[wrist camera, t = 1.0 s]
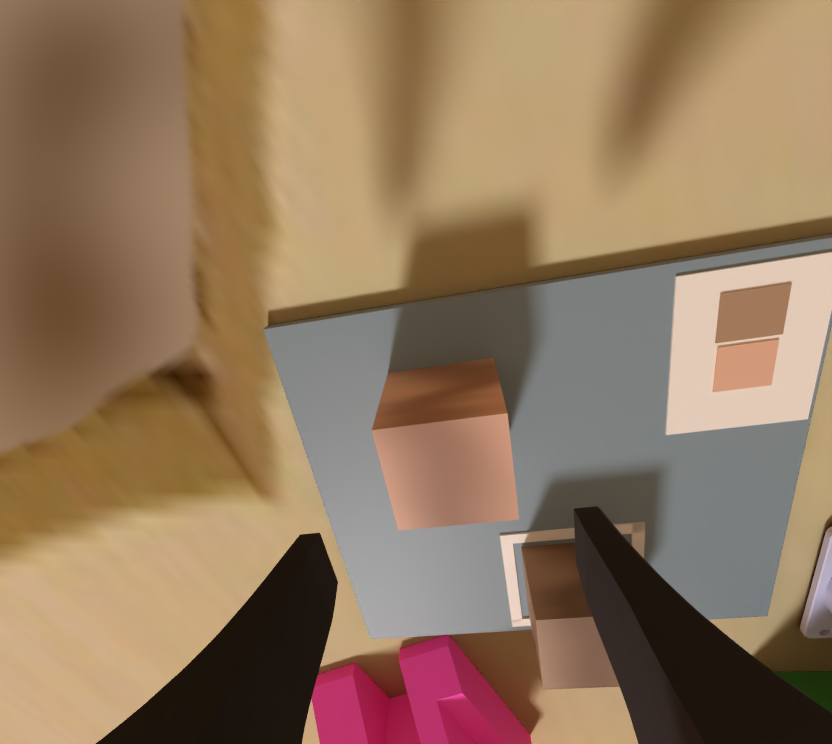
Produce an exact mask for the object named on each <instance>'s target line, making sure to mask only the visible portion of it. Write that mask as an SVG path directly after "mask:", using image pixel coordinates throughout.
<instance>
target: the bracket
mask: <svg viewBox="0 0 832 744" xmlns="http://www.w3.org/2000/svg"><path fill="white" fill-rule="evenodd" d="M399 663H400V667H401V671H402V675H403V679H404V682H405V686H406V690H407V694H404V695H401V696H397V697H394V698H389V697H388V696H387V695H386V694H385V693H384V692H383V691H382V690H381V689H380V688H379V687H378V686H377V685H376V684H375V683H374V682H373V681H372V680H371V679H370V678H369V677H368V676H367V675H366V674H365V673H364V672H363V671H362V670H361V669H360V668H359V667H358V665H357V664H356V663H353V664H350V665H347V666H344V667H340V668H337V669H334V670H331V671H328V672H325V673H321V674H318V676H317V679H316V683H315V687H314V690H313V694H312V703H313V708H314V714H315V719H316V724H317V730H318V735H319V740H320V744H531V737H530V734H529V733H528V732H527V730H526V729H525V728H524V727H523V726H522V724H521V723H520V722H519V721H518V719H517V718H516V717H515V716H514V714H513V713H512V712H511V711H510V709H509V708H508V707H507V706H506V705H505V703H504V702H503V701H502V700H501V698H500V697H499V696H498V695H497V693H496V692H495V691H494V690H493V689H492V687H491V686H490V685H489V684H488V682H487V681H486V680H485V679H484V677H483V676H482V675H481V674H480V673H479V671H478V670H477V669H476V668H475V666H474V665H473V664H472V663H471V661H470V660H469V659H468V658H467V657H466V655H465V654H464V653H463V652H462V650H461V649H460V648H459V647H458V645H457V644H456V643H455V642H454V640H453V639H452V638H451V637H450V636H449V635H442V636H439V637H436V638H433V639H430V640H427V641H423V642H420V643H417V644H414V645H411V646H407V647H404V648H401V649H400V654H399Z"/></svg>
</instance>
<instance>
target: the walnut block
mask: <svg viewBox="0 0 832 744" xmlns="http://www.w3.org/2000/svg"><path fill="white" fill-rule="evenodd" d="M521 550H522V559H523V567H524V576H525V585H526V594H527V603H528V612H529V617H530V623H531V628H532V634H533V639H534V644H535V650H536V655H537V660H538V666H539V671H540V677H541V682H542V687H543V690H546V689H571V688H595V687H620V686H619V683H618V681H617V678H616V676H615V673H614V671H613V668H612V665H611V663H610V660H609V658H608V655H607V653H606V650H605V648H604V645H603V643H602V640H601V637H600V635H599V632H598V630H597V627H596V625H595V622H594V619H593V617H592V614H591V612H590V609H589V606H588V604H587V601H586V598H585V594H584V591H583V587H582V583H581V580H580V576H579V572H578V569H577V565H576V553H575V543H565V544H553V545H541V546H529V547H521Z"/></svg>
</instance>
